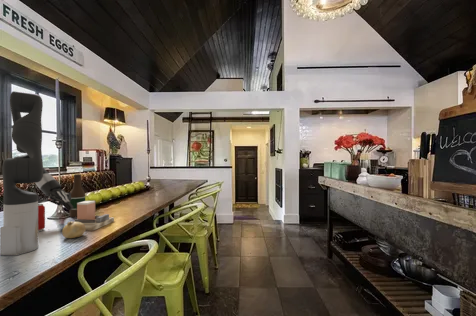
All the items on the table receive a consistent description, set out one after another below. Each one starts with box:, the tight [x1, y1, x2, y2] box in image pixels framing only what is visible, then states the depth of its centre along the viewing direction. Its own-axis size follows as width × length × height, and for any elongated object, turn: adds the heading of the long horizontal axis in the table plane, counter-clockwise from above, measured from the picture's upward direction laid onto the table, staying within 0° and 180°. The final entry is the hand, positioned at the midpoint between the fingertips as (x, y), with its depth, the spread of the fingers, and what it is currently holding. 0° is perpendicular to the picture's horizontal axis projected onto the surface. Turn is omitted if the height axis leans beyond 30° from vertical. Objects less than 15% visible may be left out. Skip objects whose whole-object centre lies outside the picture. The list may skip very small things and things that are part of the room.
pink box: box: [76, 200, 96, 220], centre depth 118 cm, size 6×5×9 cm
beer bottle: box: [68, 173, 86, 218], centre depth 136 cm, size 8×8×24 cm
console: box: [63, 213, 115, 232], centre depth 116 cm, size 16×14×4 cm
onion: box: [61, 220, 86, 239], centre depth 99 cm, size 8×8×7 cm
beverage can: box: [38, 203, 46, 233], centre depth 108 cm, size 6×6×12 cm
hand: (71, 208), depth 118 cm, fingers closed
